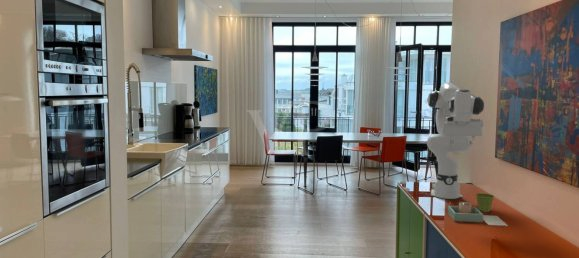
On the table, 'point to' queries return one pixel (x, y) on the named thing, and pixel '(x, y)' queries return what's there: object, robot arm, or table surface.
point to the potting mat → (493, 220)
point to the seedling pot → (465, 207)
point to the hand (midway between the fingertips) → (461, 144)
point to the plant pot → (484, 201)
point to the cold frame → (465, 214)
